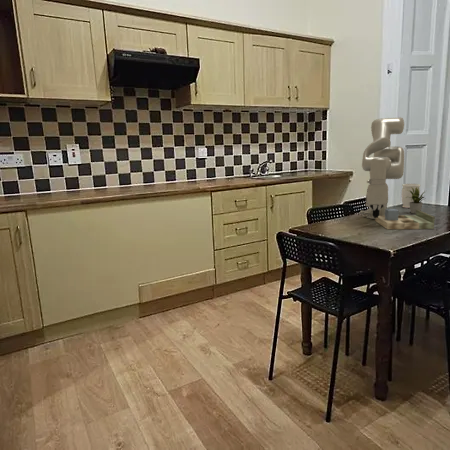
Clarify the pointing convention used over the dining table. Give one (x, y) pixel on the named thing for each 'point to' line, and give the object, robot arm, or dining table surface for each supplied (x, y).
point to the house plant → (415, 200)
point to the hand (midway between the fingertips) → (375, 217)
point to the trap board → (408, 221)
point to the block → (391, 214)
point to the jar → (408, 194)
